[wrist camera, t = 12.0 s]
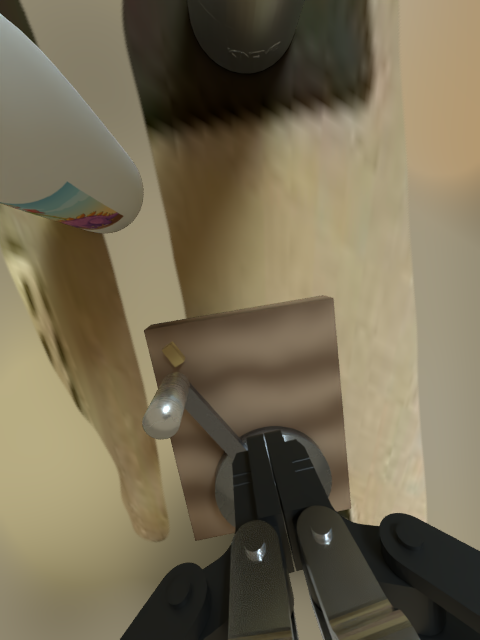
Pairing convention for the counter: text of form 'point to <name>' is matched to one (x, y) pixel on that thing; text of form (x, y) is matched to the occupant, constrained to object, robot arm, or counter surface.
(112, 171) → the milk bottle
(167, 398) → the gray disc with handle
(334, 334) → the stand
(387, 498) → the counter surface
